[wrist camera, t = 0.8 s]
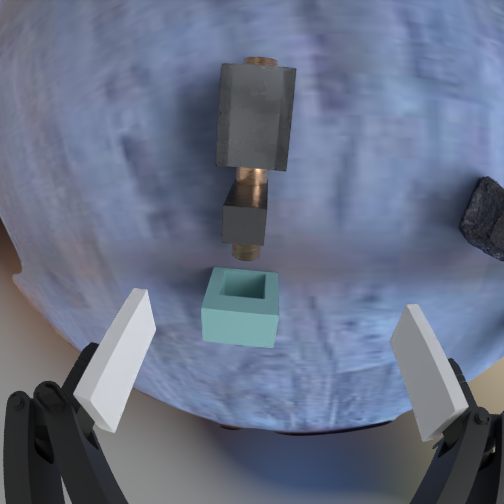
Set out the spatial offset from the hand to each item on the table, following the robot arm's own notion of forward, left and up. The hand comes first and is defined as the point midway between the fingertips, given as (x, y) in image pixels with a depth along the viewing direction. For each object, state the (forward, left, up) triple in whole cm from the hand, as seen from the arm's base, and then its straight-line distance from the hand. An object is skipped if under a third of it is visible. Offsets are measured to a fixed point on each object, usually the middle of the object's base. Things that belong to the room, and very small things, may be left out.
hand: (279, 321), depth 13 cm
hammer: (-4, -3, -18) cm, 19 cm away
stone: (-3, +30, -20) cm, 36 cm away
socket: (+12, -2, -20) cm, 23 cm away
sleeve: (-9, -2, -20) cm, 22 cm away
